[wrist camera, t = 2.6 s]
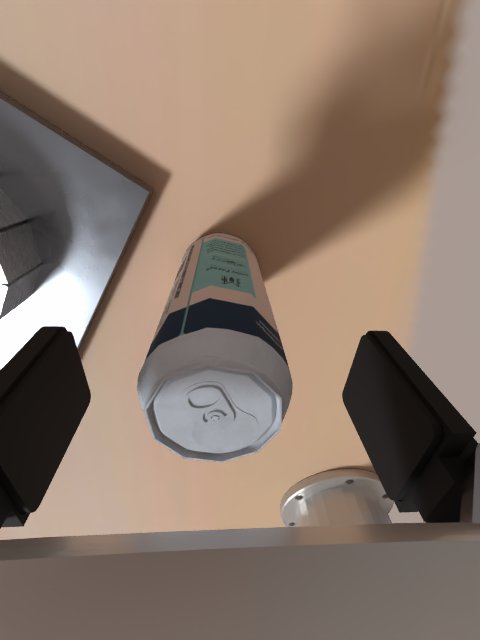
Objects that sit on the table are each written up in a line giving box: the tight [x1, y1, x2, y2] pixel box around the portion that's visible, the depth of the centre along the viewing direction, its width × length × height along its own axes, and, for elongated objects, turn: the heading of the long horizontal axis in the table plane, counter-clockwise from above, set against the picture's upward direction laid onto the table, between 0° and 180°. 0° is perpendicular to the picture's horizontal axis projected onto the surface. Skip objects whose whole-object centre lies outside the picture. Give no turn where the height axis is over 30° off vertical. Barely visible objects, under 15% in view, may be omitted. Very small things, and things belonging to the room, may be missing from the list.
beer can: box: [137, 233, 292, 462], centre depth 13 cm, size 5×5×12 cm
